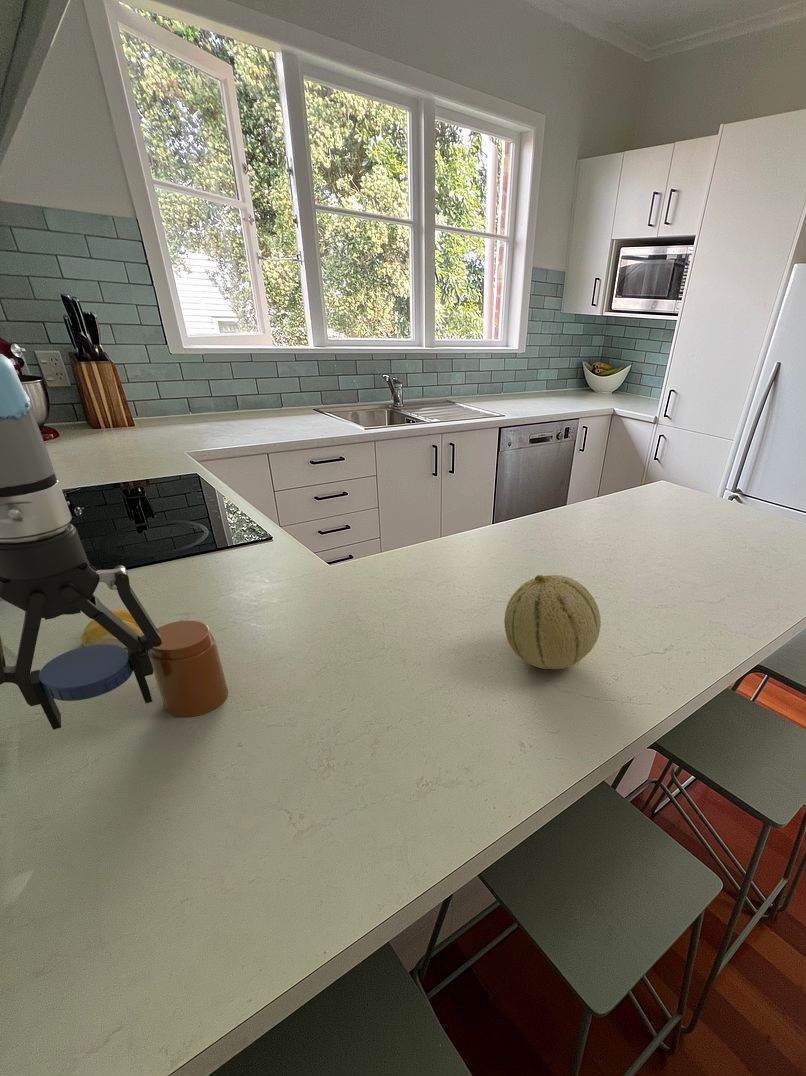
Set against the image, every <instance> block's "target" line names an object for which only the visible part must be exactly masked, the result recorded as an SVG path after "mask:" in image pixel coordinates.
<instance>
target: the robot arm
mask: <svg viewBox="0 0 806 1076" xmlns="http://www.w3.org/2000/svg"><path fill="white" fill-rule="evenodd" d="M32 405H33V404H32V401H31V398H30V396H29V395H28V393H27V391H25V389H24V387H23V385H22V382H21V380H20V378H19V375H18V373H17V371H16V369H15V366H14V364H13V362H12V361H11V360H10V359H9V358H8V357H7V356H5V355H4V354H2V353H0V602H1V601H5V602H7V603H8V604H11V605H13V606H14V607H17V608H18V609H20V610H22V611H24V619H23V624H22V629H21V634H20V640H19V645H18V650H17V654H16V655H17V656H16V660H15V661H16V662H15V665H7V664H6V658H5V653H4V647H3V642H2V638H1V636H0V686H1V685H3V684H4V683H7V684H8V683H9V684H10V683H11V684H14V685H16V686H17V687H18V689H19V691H20V693H21V694H22V697H23V698H24V701H25V702H26V704H27V705H29V707H35V706H38V705H40V706H41V709H42V710H43V712H44V714H45V716H46V718H47V721H48V722H49V724H50V727H51V728H52V730H58V729H61V728H62V714H61V711H60V710H59V707H58V706H57V703H56V701H55V699H53V698H51V697H50V696H48V695H46V693H45V690H44V688H43V686H42V684H41V682H40V680H39V673H40V671H41V669H35V670H32V665H33V660H34V656H35V651H36V646H37V640H38V637H39V636H38V635H39V631H40V629H41V622H42V619H44V620H46V621H47V620H51V619H56V618H58V617H61V616H64V615H65V616H66V615H67V616H68V615H69V616H70V615H78V614H81V613H83V614H84V615H85V616H86V617H87V618H89V619H91V620H93V619H94V620H95V621H96V622H97V623H98V624H100V625H101V626H102V627H103V628H104V629H106V630H107V631H108V632H109V633H110V634H112V635H113V636H114V637H115V638H116V639H118V640H119V641H120V642H121V643H122V644H124V645H125V646H126V647H127V648H126V651H127V652H128V656H129V660H130V663H131V666H132V668H133V674H134V677H135V680H136V682H137V685H138V687H139V690H140V693H141V695H142V698H143V700H144V701H143V702H144V703H145V705H146V704H148V703H152V702H153V699H152V698H153V697H152V695H151V690H150V687H149V684H148V682H147V679H146V677H148V676H152V675H154V673H153V667H152V663H151V661H150V658H149V655H148V651H149V650H150V649H151V648H153V647H158V646H160V645H161V644H162V640H161V637H160V634H159V631H158V629H157V628H158V627H157V626H156V624H155V623H154V622H153V620H152V618H151V617H150V615H149V614H148V611H146V609H145V607H144V605H143V604H142V602H141V601H140V599H139V597H138V596H137V594H136V593H135V591H134V590H133V588H132V586H131V583H130V576H129V574H128V570H127V567H126V566H124V565H121V564H118V565H116V566H114V567H113V569H97V568H96V567H95V566H94V565H92V564H91V562H90V561H89V559H88V557H87V554H86V552H85V548H84V546H83V543H82V541H81V538H80V535H79V532H78V529H77V528H76V526H75V525H74V524H71V523H70V522H71V521H72V519H73V517H72V513H71V511H70V508H69V505H68V502H67V500H66V498H65V494H64V491H63V489H62V487H61V483H60V481H59V479H58V477H57V475H56V472H55V469H54V466H53V464H52V460H51V457H50V455H49V452H48V449H47V447H46V444H45V441H44V437H43V434H42V432H41V429H40V427H39V425H38V421H37V418H36V416H35V413H34V410H33V407H32ZM99 583H104V584H106V586H107V588H109V590H112V591H117V594H118V596H119V599H120V600H121V602H122V603H123V605H124V607H125V608H126V609H127V611H129V612H130V614H131V615H132V617H133V618H134V620H135V621H136V623H137V625H138V626H139V628H140V629H141V631H142V634H143V635H141V636H139V635H138V634H137V633H135V632H134V631H133V630H132V629H131V628H130V627H129V626H127V625H126V624H125V623H124V622H123V621H122V620H120V619H119V618H118V617H117V616H116V615H115V614H114V613H112V612H111V611H112V610H110V609H109V608H108V607H107V606H106V605H104V604H103V602H102V601H101V600H100V598H98V597H97V596H96V594H94V593H95V591H96V590H97V587H98V585H99Z"/></svg>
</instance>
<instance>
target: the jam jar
mask: <svg viewBox="0 0 806 1076" xmlns="http://www.w3.org/2000/svg"><path fill="white" fill-rule="evenodd" d="M156 628H157V629H158V631H159V634H160V637H161V640H162V644H161V645H160V646H158V647H153V648H151V649H150V650H149V651H148V655H149V658H150V661H151V663H152V667H153V676H154V679H155V681H156V685H157V687H158V691H159V693H160V694H159V695H160V696H161V698H162V699H161V700H162V702H163V705H164V708H165V710H166V712H168V714H171V715H173V716H176V717H182V718H191V717H197V716H201V715H205V714H207V713H210V712H213V711H214V710H216V709H218V708H219V707H220V706H222V705H223V704H224V703H225V702H226V700H227V699H228V696H229V689H228V685H227V681H226V677H225V673H224V669H223V665H222V660H221V658H220V657H221V656H220V654H219V649H218V646H217V642H216V639H215V638H216V637H215V635H214V634H213V633H211V630H210V628H209V626H208V625H207V624H205V623H204V622H202V621H197V620H177V621H173V622H169V623H166V624H163V625H161V626H159V627H156Z"/></svg>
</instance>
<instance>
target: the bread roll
mask: <svg viewBox="0 0 806 1076" xmlns="http://www.w3.org/2000/svg"><path fill="white" fill-rule="evenodd" d="M110 611H111V612H112V613H114V614H115V615H116V616H117V617H118V618H119V619H120V620H122V621H123V622H124V623H125V624H126V625H127V626H129V627H130V628H131V629H132V630H133V631H134V632H135V633H137V634H138V635H139V636H140V637H141V636H142V634H143V632H142V631H141V629H140V628H139V626H138V625H137V623H136V621H135V620H134V618H133V617H132V615H131V614H130V612H129V611H128V610H124V609H113V610H110ZM80 639H81V645H82V647H85V646H91V645H100V644H108V645H116V646H120V647H122V648H124V649H128V648H127V647H126V646H125V645H124V644H122V643H121V642H120V641H119V640H118V639H116V638H115V637H114V636H113V635H112V634H110V633H109V632H108V631H107V630H106V629H104V628H103V627H102V626H101V625H100V624H98V623H97V622H96V621H95V620H94V619H91V620H90V621H89V622H88V623H87V625H86V626H85V628H84V631H83V633H82V634H81V636H80Z"/></svg>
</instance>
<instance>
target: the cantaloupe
mask: <svg viewBox="0 0 806 1076" xmlns="http://www.w3.org/2000/svg"><path fill="white" fill-rule="evenodd" d="M601 622H602V621H601V613H600V610H599V606H598V604H597V601H596V600H595V598H594V596H593V595H592V594H591V593H590V591H589V590H588V588H586V587H585V586H584V585H583V584H582V583H579V581H577V580H575V579H573V578H572V577H569V576H565V575H563V574H561V575H560V574H547V575H542V574H537V575H536V576H535V577H534V578H532V579H529V580H527V581H525V582H524V583H523V584H521V585H520V586H519V587H518V588H517V589H516V590H515V591H514V593H513V594H512V595H511V596H510V598H509V600H508V602H507V604H506V608H505V612H504V621H503V623H504V631H505V632H504V633H505V635H506V640H507V642H508V645H509V646H510V648H511V650H512V651H513V652H514V653H515V655H516V656H517V657H518V658H519V659H521V660H522V661H523V662H525V663H527V664H529V665H531V666H532V667H536V668H539V669H543V670H563V669H567V668H569V667H572V666H575V665H576V664H578V663H579V662H580V661H582V660H583V659H584V658H585V657H587V655H588V654H589V653H590V652H591V651H592V650H593V648H594V647H595V645H596V644H597V642H598V639H599V637H600V630H601V624H602V623H601Z"/></svg>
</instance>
